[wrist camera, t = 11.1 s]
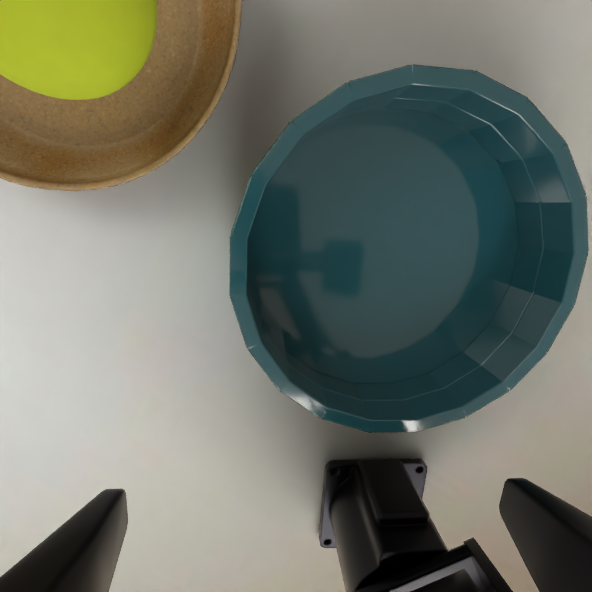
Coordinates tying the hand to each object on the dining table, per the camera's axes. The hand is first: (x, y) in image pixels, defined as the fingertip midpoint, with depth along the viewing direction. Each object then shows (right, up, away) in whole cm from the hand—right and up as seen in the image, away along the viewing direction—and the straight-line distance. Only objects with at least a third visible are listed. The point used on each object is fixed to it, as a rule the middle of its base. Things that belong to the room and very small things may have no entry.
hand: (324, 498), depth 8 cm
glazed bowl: (+4, +7, +11) cm, 14 cm away
